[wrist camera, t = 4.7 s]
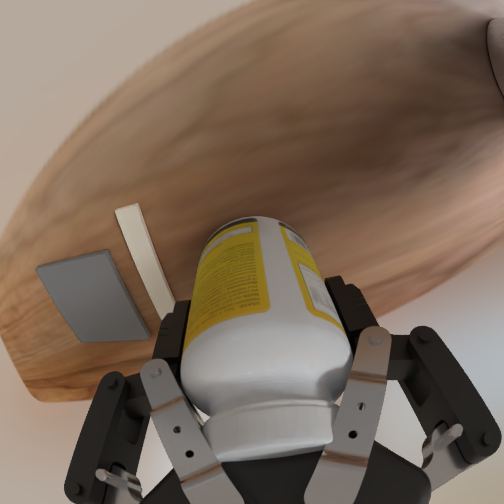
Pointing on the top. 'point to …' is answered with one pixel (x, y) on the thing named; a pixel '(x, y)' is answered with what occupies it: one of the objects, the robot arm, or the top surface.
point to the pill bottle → (263, 344)
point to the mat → (93, 298)
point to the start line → (145, 257)
